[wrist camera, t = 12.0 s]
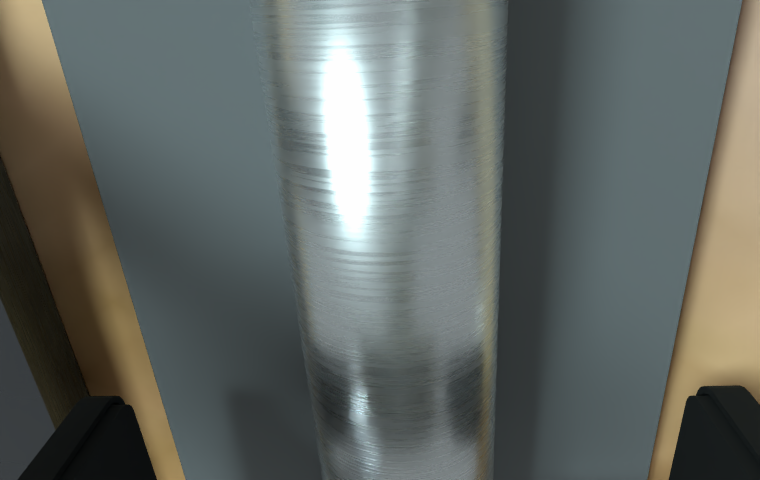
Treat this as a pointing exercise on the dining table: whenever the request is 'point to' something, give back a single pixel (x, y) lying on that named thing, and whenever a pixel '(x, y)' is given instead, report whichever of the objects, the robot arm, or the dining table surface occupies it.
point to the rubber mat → (518, 223)
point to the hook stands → (29, 347)
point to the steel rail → (392, 223)
